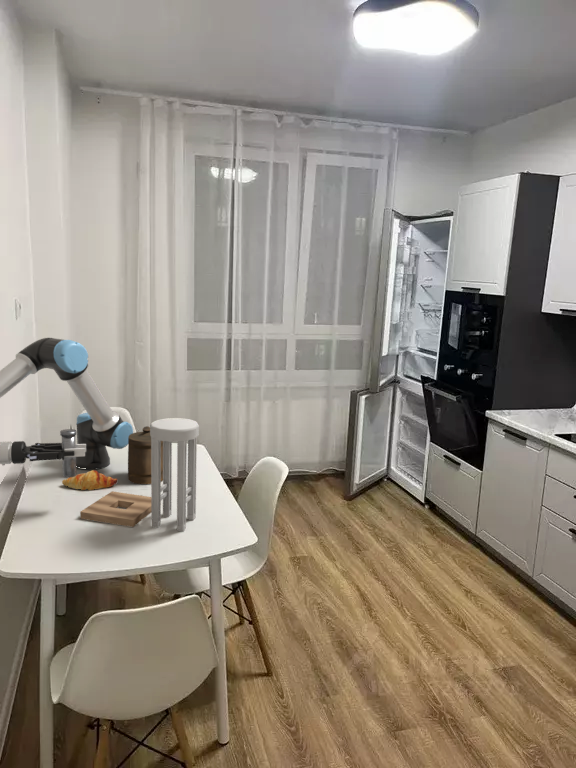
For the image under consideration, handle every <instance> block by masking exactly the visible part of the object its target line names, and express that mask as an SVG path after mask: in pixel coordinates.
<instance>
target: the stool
mask: <svg viewBox="0 0 576 768" xmlns="http://www.w3.org/2000/svg"><path fill="white" fill-rule="evenodd" d="M149 427H150V435H151V484H150V485H151V488H150V489H151V494H150V497H151V513H150V514H151V516H150V518H151V528H155V529H157V528H158V529H159V527H160V526H162V525H161V524H162V523H161V520H162V519H161V518H162V517H167V518H169V516H170V515H172V507H173V506H172V503H173V502H172V494H173V493H172V490H173V489H172V487H173V486H172V481H173V478H172V477H173V476H172V475H173V473H172V471H173V468H172V467H173V465H172V464H173V461H172V460H173V455H172V453H173V451H172V450H173V442H177V443H176V444H177V447H176V448H177V449H176V450H177V451H176V452H177V454H176V455H177V456H176V460H177V461H176V462H177V463H176V465H177V466H176V468H177V469H176V472H177V474H176V475H177V476H176V477H177V478H176V531H177V532H178V531H179V532H184V531H185V530H186V529H187V520H188V519H190V521H194V520H195V519H196V516H197V515H196V513H197V510H196V509H197V455H198V454H197V449H198V448H197V443H198V441H197V440H198V437H199V436H200V425H199V424H198V422H197V421H196V420H193V419H189V418H182V417H181V418H180V417H172V418H170V417H169V418H168V417H167V418H161V419H157V420H154V421H153V422H151V423H150V424H149ZM161 441H163V480H162V481H161ZM161 482H162V483H161ZM161 484H162V485H161ZM161 505H162V507H161ZM161 508H162V511H161ZM161 515H162V516H161ZM170 517H171V516H170Z"/></svg>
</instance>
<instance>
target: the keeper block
mask: <svg viewBox="0 0 576 768" xmlns="http://www.w3.org/2000/svg"><path fill="white" fill-rule="evenodd" d="M79 513H80V514H79V515H80V518H81V519H80V520H86V519H88V520H87V521H92V520H94V522H100V523H106V524H113V525H118V526H123V527H131V528H134V527H135V526H136V525H138V524H139V523H140V522H141V521H143V520H144V519H146V517H148V516H149V515H150V514H151V496H147V495H140V494H132V493H127V492H121V491H110V492H108V493H107V494H105V495H104V496H102V497H100V499H97V500H96V501H94V502H93V503H92V504H90V505H88V506H86V507H85V508H84V509H82V510H80V511H79Z"/></svg>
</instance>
